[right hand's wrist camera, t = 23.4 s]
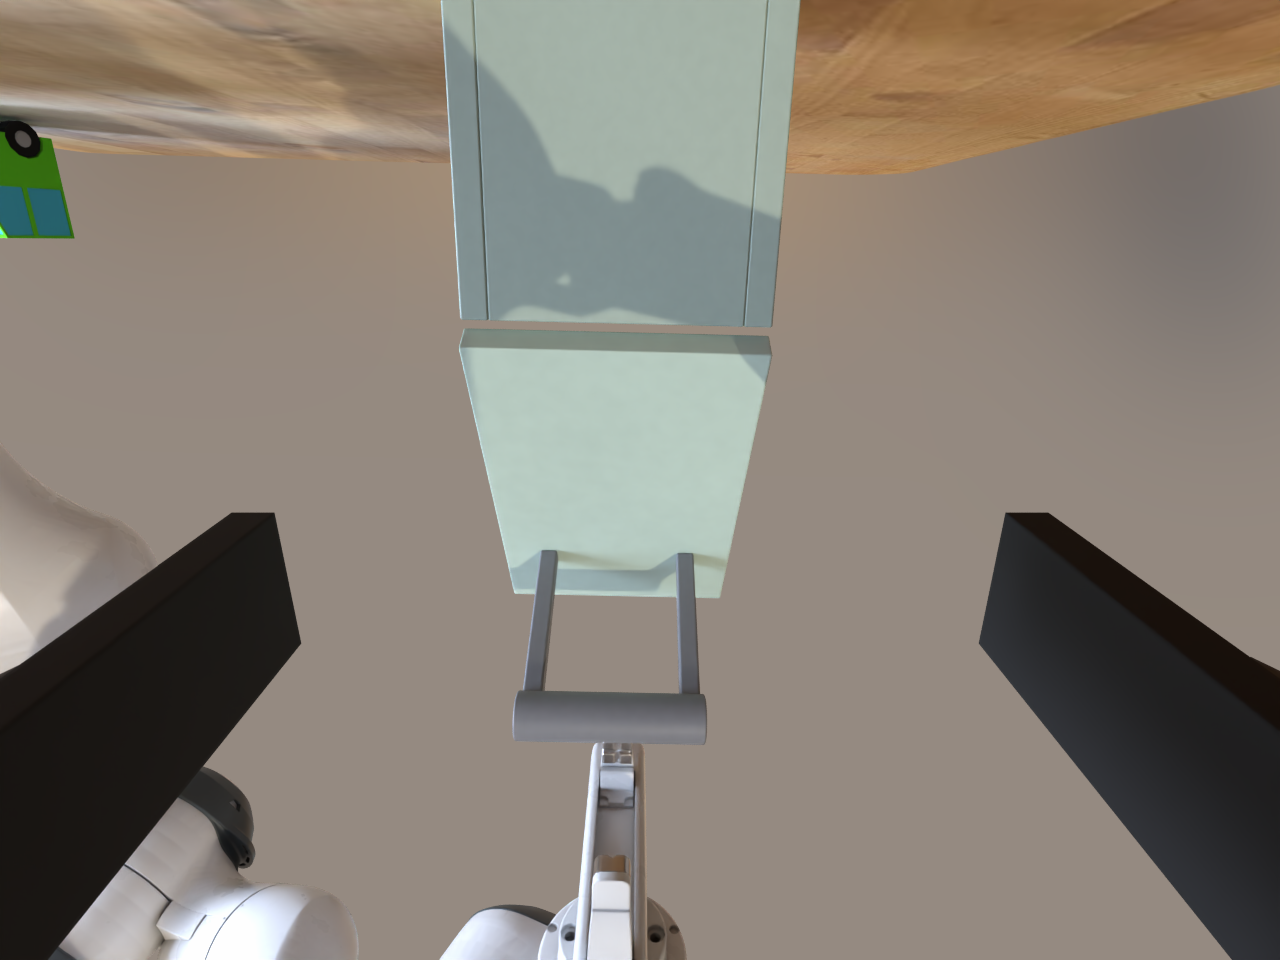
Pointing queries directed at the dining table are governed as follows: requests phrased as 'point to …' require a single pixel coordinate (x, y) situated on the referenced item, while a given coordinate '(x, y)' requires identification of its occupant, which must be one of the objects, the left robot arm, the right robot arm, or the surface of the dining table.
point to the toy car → (30, 186)
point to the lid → (615, 494)
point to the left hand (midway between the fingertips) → (615, 790)
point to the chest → (619, 157)
